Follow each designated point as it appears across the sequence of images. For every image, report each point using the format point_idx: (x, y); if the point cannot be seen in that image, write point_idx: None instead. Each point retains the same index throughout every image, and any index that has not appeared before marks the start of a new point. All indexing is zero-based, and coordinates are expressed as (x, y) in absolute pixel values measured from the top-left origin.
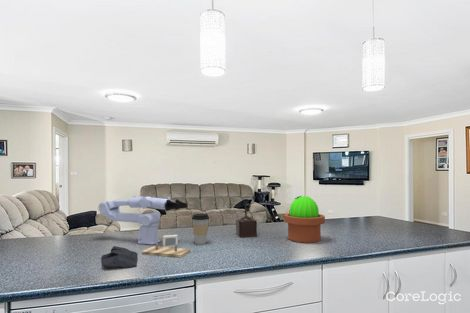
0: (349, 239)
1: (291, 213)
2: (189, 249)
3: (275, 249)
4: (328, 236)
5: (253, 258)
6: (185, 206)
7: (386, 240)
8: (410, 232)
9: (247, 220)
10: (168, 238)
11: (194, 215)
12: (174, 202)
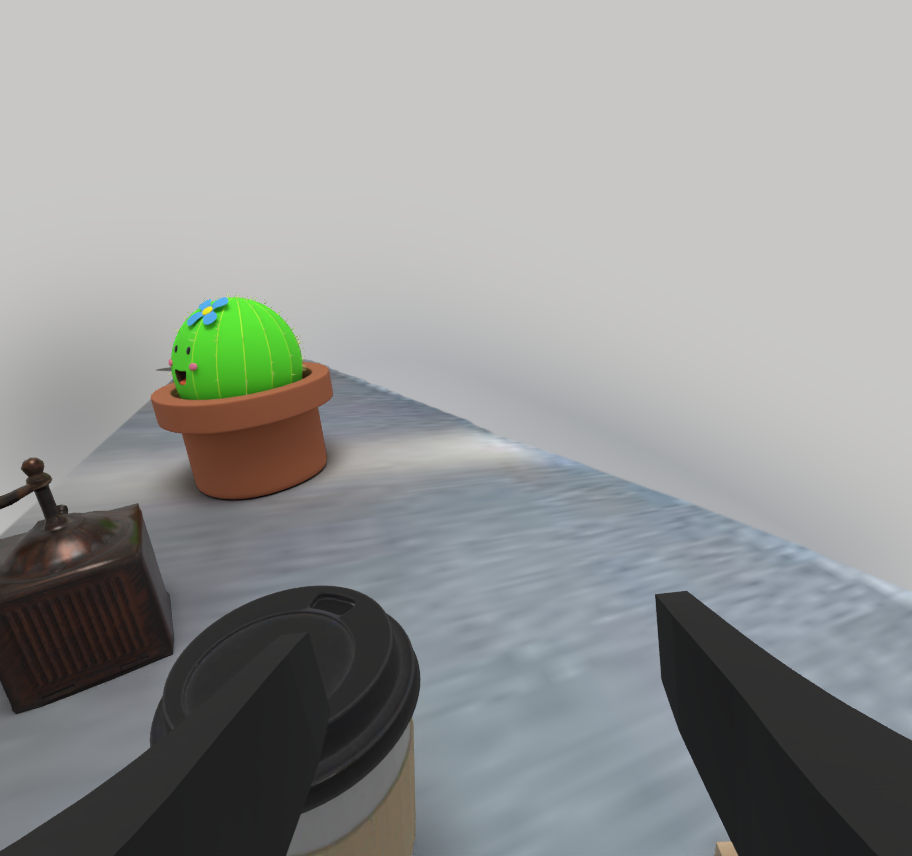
0: None
1: (253, 380)
2: (731, 843)
3: (435, 502)
4: None
5: (600, 523)
6: (312, 712)
7: None
8: None
9: (119, 529)
10: None
11: (362, 694)
12: (758, 703)
